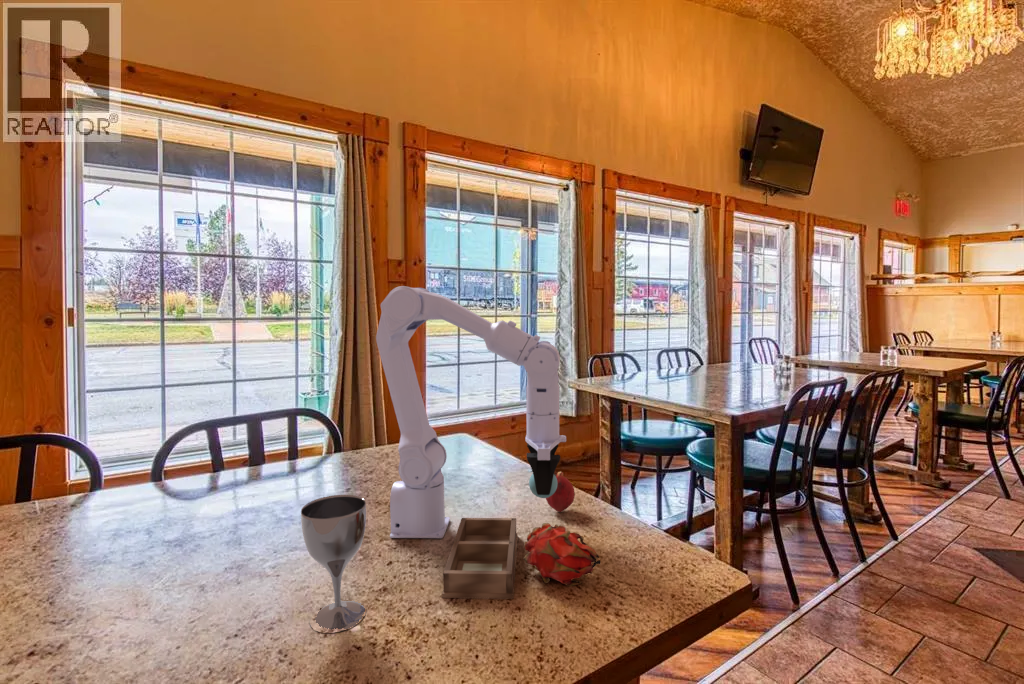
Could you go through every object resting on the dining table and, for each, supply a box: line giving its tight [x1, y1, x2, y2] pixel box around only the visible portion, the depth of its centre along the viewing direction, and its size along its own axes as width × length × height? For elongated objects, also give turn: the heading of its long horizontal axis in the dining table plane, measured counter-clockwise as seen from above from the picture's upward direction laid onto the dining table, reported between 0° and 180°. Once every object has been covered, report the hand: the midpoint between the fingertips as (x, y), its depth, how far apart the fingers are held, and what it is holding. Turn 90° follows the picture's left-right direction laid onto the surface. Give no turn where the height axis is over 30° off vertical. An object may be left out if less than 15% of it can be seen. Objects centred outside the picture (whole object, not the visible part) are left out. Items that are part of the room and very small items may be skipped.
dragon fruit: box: [522, 522, 601, 587], centre depth 76 cm, size 8×8×12 cm
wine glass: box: [300, 494, 367, 630], centre depth 66 cm, size 8×8×15 cm
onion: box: [545, 471, 576, 513], centre depth 99 cm, size 6×6×8 cm
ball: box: [528, 473, 558, 499], centre depth 89 cm, size 5×5×5 cm
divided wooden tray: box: [441, 517, 519, 600], centre depth 80 cm, size 10×19×3 cm, turn 177°
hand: (543, 488), depth 89 cm, fingers closed on ball, 5 cm apart
